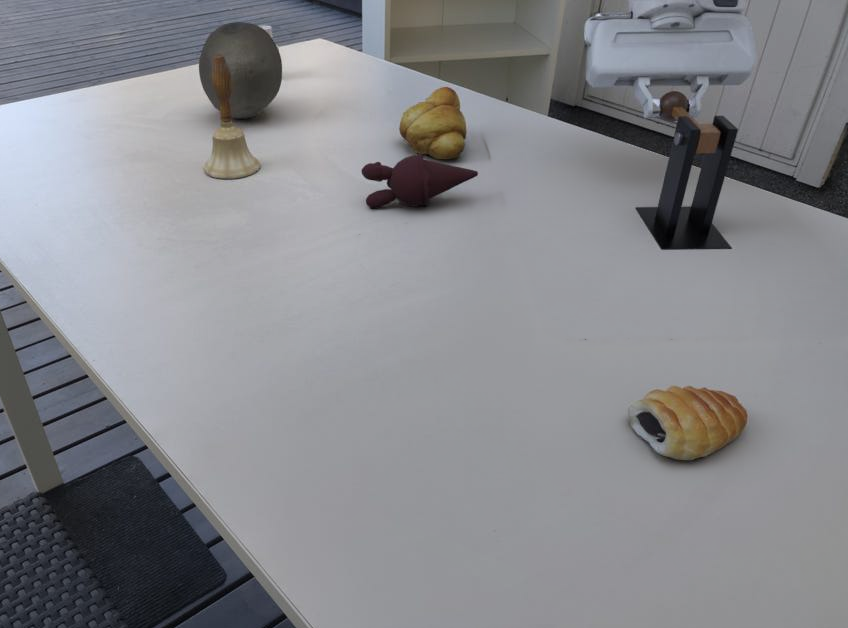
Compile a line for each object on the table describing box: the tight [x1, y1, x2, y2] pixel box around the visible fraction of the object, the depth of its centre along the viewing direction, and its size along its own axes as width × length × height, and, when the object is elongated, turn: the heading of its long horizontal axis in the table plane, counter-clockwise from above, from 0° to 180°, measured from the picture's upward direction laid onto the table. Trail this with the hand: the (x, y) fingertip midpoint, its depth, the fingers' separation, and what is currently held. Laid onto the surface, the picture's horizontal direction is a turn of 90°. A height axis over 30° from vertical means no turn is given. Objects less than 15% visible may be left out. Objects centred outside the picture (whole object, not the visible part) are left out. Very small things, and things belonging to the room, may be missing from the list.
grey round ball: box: [198, 21, 283, 120], centre depth 123 cm, size 14×14×15 cm
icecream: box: [361, 152, 479, 209], centre depth 97 cm, size 7×7×15 cm
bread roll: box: [398, 86, 468, 160], centre depth 111 cm, size 13×10×8 cm
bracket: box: [634, 115, 739, 251], centre depth 86 cm, size 11×8×14 cm
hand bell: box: [203, 54, 262, 180], centre depth 105 cm, size 8×8×16 cm
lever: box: [658, 90, 721, 154], centre depth 87 cm, size 14×4×4 cm, turn 179°
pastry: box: [627, 385, 748, 461], centre depth 61 cm, size 9×7×4 cm
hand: (672, 115), depth 91 cm, fingers closed on lever, 3 cm apart
